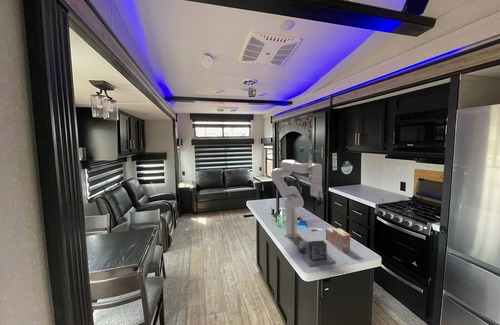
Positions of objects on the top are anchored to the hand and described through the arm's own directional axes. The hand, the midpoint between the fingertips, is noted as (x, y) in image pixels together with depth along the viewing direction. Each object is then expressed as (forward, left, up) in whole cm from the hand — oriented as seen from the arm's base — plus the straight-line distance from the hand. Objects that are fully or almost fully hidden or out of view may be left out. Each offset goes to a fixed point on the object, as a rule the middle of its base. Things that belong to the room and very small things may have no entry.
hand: (316, 203), depth 160 cm
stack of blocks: (0, +17, -34) cm, 38 cm away
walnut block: (-7, -11, -33) cm, 36 cm away
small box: (+16, -7, -32) cm, 37 cm away
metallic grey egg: (+4, -13, -33) cm, 36 cm away
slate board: (+16, -7, -33) cm, 38 cm away
